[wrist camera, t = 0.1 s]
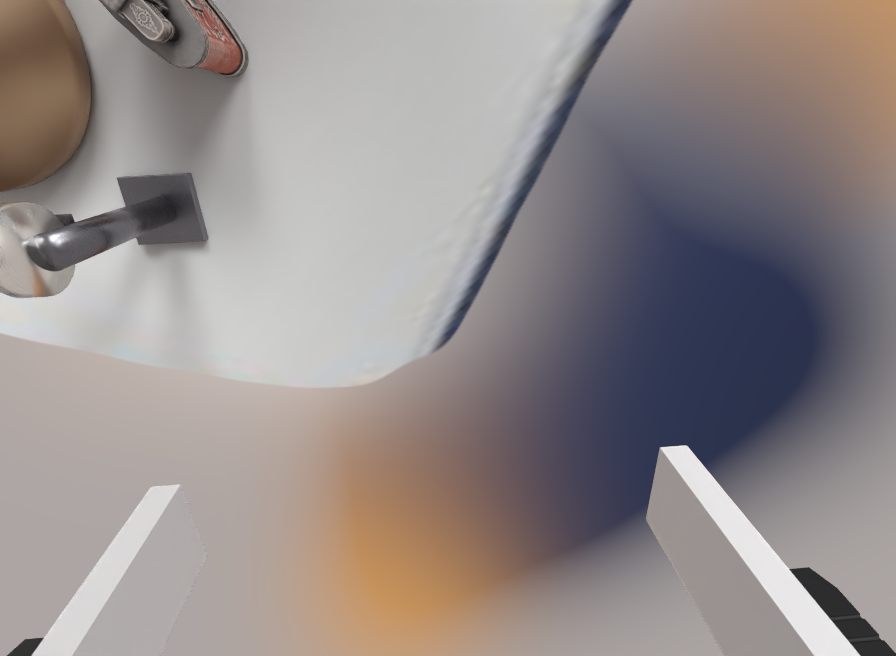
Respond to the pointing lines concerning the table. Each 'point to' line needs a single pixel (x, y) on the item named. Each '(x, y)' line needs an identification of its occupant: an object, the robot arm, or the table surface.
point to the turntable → (40, 90)
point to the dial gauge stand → (92, 232)
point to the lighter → (184, 33)
